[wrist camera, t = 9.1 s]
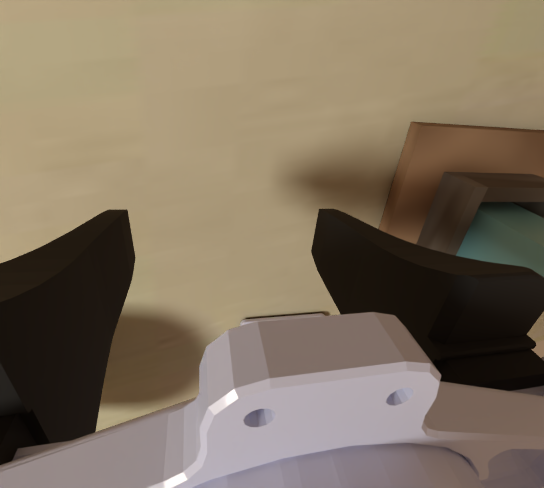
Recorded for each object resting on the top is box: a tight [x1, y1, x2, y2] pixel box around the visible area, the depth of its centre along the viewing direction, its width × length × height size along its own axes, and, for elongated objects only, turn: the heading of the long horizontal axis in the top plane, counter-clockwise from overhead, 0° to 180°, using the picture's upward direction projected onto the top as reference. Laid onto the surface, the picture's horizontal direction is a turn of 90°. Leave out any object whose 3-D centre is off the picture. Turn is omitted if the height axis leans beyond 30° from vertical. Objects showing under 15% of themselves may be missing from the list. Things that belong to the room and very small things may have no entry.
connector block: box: [456, 202, 544, 277], centre depth 22 cm, size 4×4×8 cm
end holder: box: [379, 122, 544, 255], centre depth 24 cm, size 14×14×4 cm
